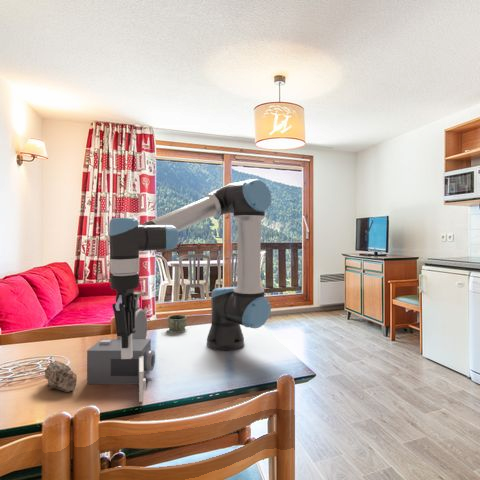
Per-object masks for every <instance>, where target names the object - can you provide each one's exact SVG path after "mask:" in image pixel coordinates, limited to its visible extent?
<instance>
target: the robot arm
mask: <svg viewBox="0 0 480 480" xmlns="http://www.w3.org/2000/svg"><path fill="white" fill-rule="evenodd" d="M271 205H272V193H271V190H270V188H269V187H268V186H267V184H266V183H265V182H264V181H263V180H261V179H246V180H242V181H238V182H230V183H227V184H225V185H224V186H222V187H220V188H217V189H216V190H213V191H211V192H209V193H206V194H205V196H204V198H200V200H197V201H193V202H192V203H190V204H186V205H184V206H182V207H179V208H177V209H174V210H172V211H170V212H167V213H165V214H163V215H160V216H158V217H156V218H153V219H151V220H149V221H145V222H143V223H141V224H140V223H139V220H138V219H137V217H112V218H111V219H110V220H109V225H108V238H109V239H108V241H109V244H108V245H109V262H108V266H110V267H109V268H110V270H109V273H110V274H111V275H110V277H109V279H110V280H109V281H110V288H111V290H114V291H116V296H115V302H116V303H113V304H112V306H111V307H112V310H113V314H114V321H115V328H116V337H117V336H121V359H131V358H132V357H133V345H132V334H131V333H135V332H136V330H133V329H134V328H135V314H136V300H137V294H134V291H135V289H137V288H139V287H140V274H139V272H140V252H144V251H145V252H149V251H154V252H155V251H169V250H173V249H175V248H176V249H177V246H178V245H179V241H180V240H179V239H180V238H179V237H180V236H179V234H180V233H179V232H181V231H184V230H185V229H188V228H190V227H193V226H195V225H196V224H198V223H199V224H200V222H203V221H206V220H207V219H210V218H212V217H214V218H217V217H219V216H220V217H221V216H223V215H227V214H233V219H235V220H236V221H237V222H236V223H237V268H236V269H237V276H236V277H237V280H236V281H237V282H236V283H237V285H236V286H224V287H216V288H214V289H213V290H212V291H211V298H210V299H211V303H210V305H211V316H210V317H211V318H210V319H211V323H210V324H211V325H210V328H209V331H208V334H207V336H206V338H207V339H206V345H207V347H208V348H210V349H213V350H219V351H233V350H237V349H240V348H242V347H243V346H244V345H245V337H244V334H243V331H242V328H241V326H243V327H245V328H251V329H259V328H261V327H262V326H264V325H265V324H266V322H267V321H268V319H269V318H270V316H271V310H272V306H271V303H270V302H271V301H269V299H267V298H266V297H265V289H264V288H263V287H262V286H261V244H262V243H261V239H262V237H261V231H262V230H261V227H262V225H261V224H262V223H261V222H262V221H263V220H264V218H265V217H266V215H265V214H266V211H267V210H268V209H269V208H270V206H271Z"/></svg>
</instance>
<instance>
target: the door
mask: <svg viewBox="0 0 480 480" xmlns="http://www.w3.org/2000/svg"><path fill="white" fill-rule="evenodd" d="M146 381H147V380H146V378H144V356H140V357H139V384H138V385H139V386H138V387H139V388H138V389H139V390H138V391H139V392H138V399H139V400H138V401H139V403H142V402H143V403H144V391H146V389H147V387H146V385H147V382H146Z"/></svg>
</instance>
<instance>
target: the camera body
mask: <svg viewBox="0 0 480 480" xmlns="http://www.w3.org/2000/svg"><path fill="white" fill-rule="evenodd" d="M151 340H152V339H151V338H149V339H148V338H146V339H132V345H133V357H132V358H131V359H121V339H117V338H101V339H100V340H99V341H97V342H95V344H93V345H92V346H91V347H90V348H88V349H87V350H86V384H87V385H139V357H140V356H144V378H146V377H147V376H148V374H149V372H152V371H153V370H154V368H155V364H156V351H155V350H154V349H153V350H152V349H151V348H152V345H151V343H152V341H151Z"/></svg>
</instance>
